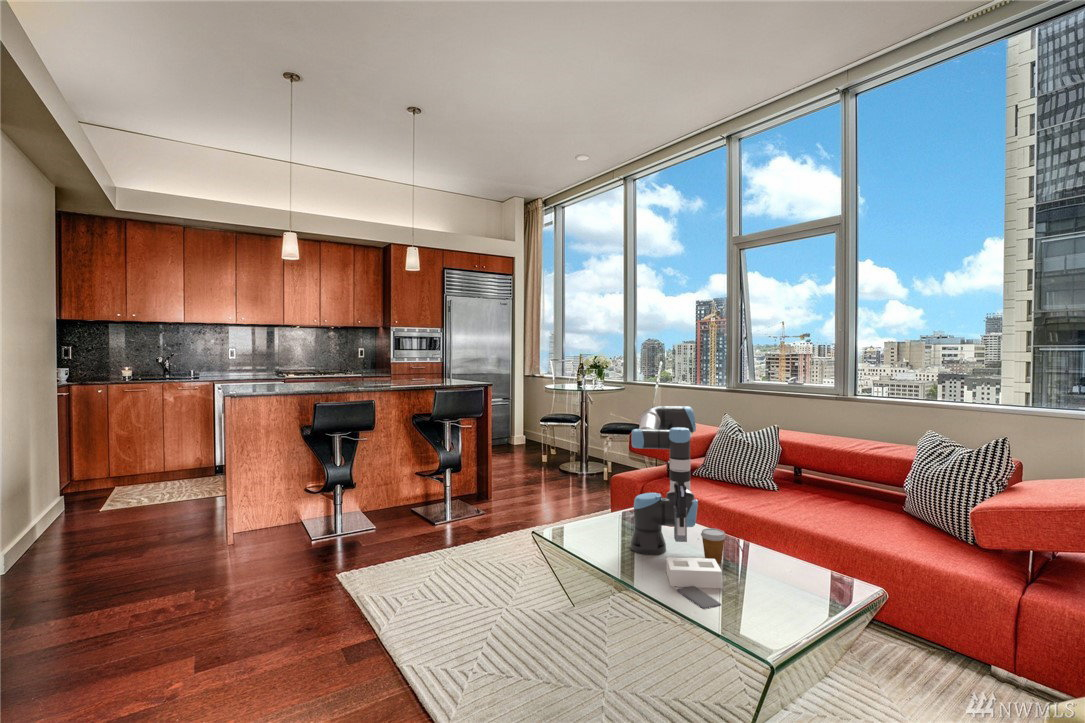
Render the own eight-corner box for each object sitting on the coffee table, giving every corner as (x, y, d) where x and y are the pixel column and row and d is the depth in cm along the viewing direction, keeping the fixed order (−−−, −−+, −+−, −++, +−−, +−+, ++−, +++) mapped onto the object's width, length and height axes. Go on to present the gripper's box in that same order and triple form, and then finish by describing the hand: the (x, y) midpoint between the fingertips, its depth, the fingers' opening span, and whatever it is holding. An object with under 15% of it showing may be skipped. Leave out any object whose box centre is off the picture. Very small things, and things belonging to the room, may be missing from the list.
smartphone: (703, 608, 170) (675, 588, 184) (703, 611, 170) (675, 591, 184) (722, 604, 173) (693, 585, 186) (722, 606, 173) (693, 587, 186)
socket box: (666, 572, 199) (666, 556, 199) (714, 574, 197) (714, 558, 197) (670, 586, 187) (670, 569, 187) (722, 588, 185) (721, 571, 185)
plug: (673, 537, 195) (673, 505, 195) (685, 538, 194) (685, 506, 194) (675, 541, 190) (674, 509, 190) (687, 542, 190) (687, 509, 190)
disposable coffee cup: (727, 566, 204) (727, 536, 204) (702, 565, 206) (702, 535, 206) (724, 557, 213) (723, 528, 213) (699, 556, 215) (699, 527, 215)
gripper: (666, 465, 201) (667, 525, 201) (672, 474, 184) (673, 540, 184) (686, 465, 200) (687, 526, 200) (694, 474, 183) (694, 541, 183)
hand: (680, 532), depth 192 cm, fingers closed on plug, 4 cm apart
